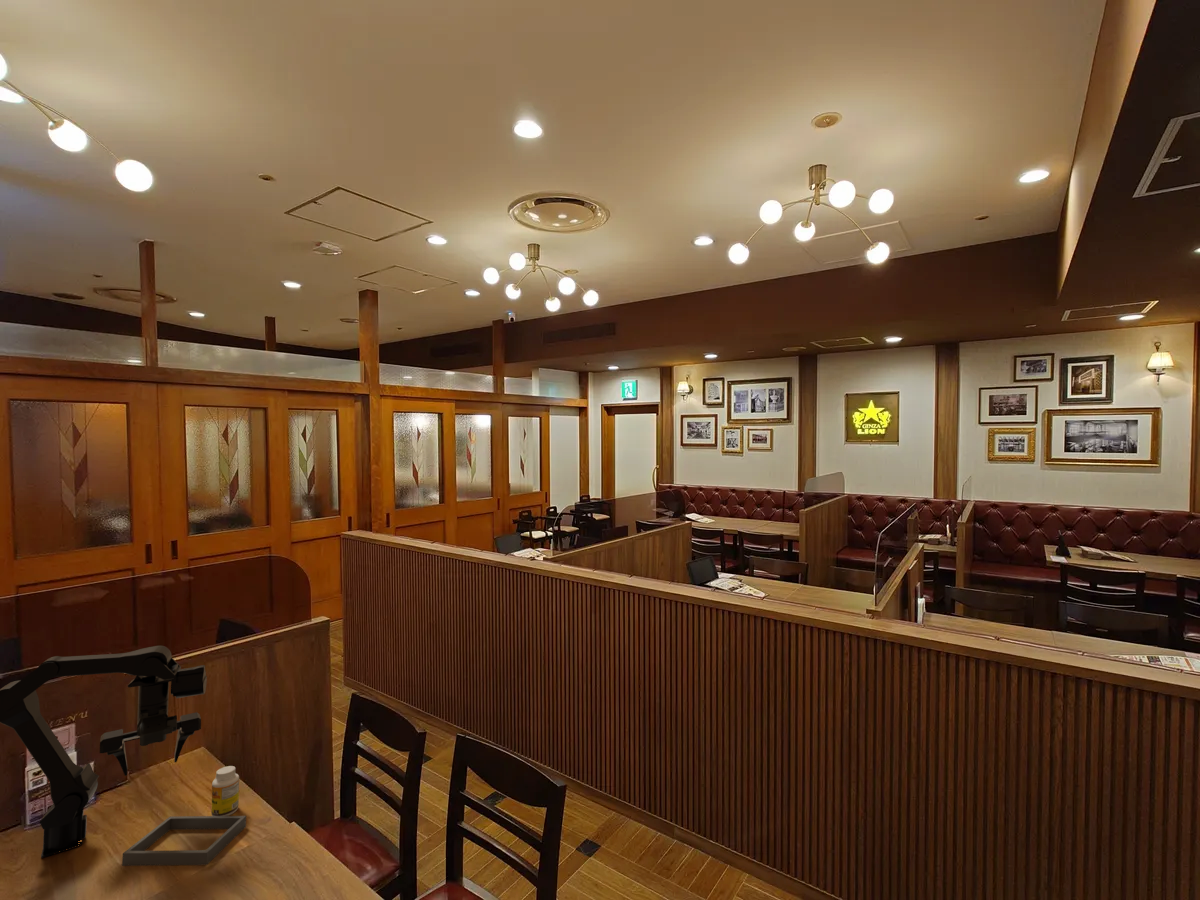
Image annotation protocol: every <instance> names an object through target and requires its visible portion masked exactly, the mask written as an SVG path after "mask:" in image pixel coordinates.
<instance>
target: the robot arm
mask: <svg viewBox="0 0 1200 900" xmlns="http://www.w3.org/2000/svg"><path fill="white" fill-rule="evenodd" d="M102 674H105V675H106V674H126V675H129V676H133V677H134V676H135V678H133V679H132V680H131V681H130V682H129V683H128V684H127V688H136V687H138V698H137V699H138V700H137V704H138V705H137V722H136V723H137V725H136V730H134V731H128V732H124V728H121V729H116V730H112V731H107V732H104V733H103V734H102V735H101V736H100V740H99V754H106V755H107V756H111V755H112V756H114V757H115V759H117V761H118V762H119V765H120V768H121V769H122V772H123V775H124V776H128V761H127V753H126V745H125V744H126V743H127V742H131V741H135V740H139V746H141V747H147V746H148V745H152V744H155V743H161V742H164V741H166V739H167V735H169V734H170V735H171V734H172V733H174V732H176V731H177V734H176V743H175V749H174V757H173V758H174V760H173V761H174V762H173V763H177V762H178V760H179V757H180V754H181V752H182V749H183V746H184V744H185V743H186V742H187V740H188V738H189V737H190V736H193V735H194V734H195V732H196V731H197V732H198V731H200V730H202V718H201V714H200V713H198V711H196V712H192V713H187V714H182V715H180V719H179V720H178V715H176V714H175V715H172V716H170V715H169V696H170V695H172V697H173V698H174V697H175V698H176V699H181V698H186V697H187V698H188V697H194V696H200V695H201V696H202V695H205V694H206V690H207V682H208V680H207V678H208V677H207V673H206V665H205V664H201V665H197V666H193V667H188V668H187V667H186V668H182V666H181V665H180V664H179V663H178V662H177V661H176V660H175V659H174V658H173V656H172V652H171V650H170V648H169V647H167V646H164V645H154V646H149V647H144V648H143V647H142V648H140V649H137V650H132V651H129V652H122V653H108V654H107V653H105V654H91V655H90V654H89V655H72V656H71V655H70V656H60V655H55V656H52V657H49V658H47V659H46V660H45V661H43V662H42V663H41V664H40V665H38V667H37V668H36V669H34V670H32V672H30V673H29V674H27V675H26V676H24V677H23V678H22V679H20V680H15V681H11V682H9V683H8V684H6V685H4V686H3V687H1V688H0V724H1V725H4V726H6V727H9V728H11V729H12V730H14V732H15V734H16V735H17V736H18V738H19V739H20V741H21V742H22V744H23V745H24V746H25V748H26V750H27V751H28V753H29V754H30V755H31V757H32V759H34V761H35V762H36V764H37V766H38V767H39V768H40V770H41V771H42V773H43V775H44V776H45V777H46V779H47V780H48V782H49V791H50V799H51V801H52V805H51V806H50V807H49V808H48V810H47V811H46V813H45V814H44V815H43V817H42V818H41V819H40V820H39V824H40V826H41V828H42V830H43V840H42V841H43V842H42V850H41V851H42V852H41V855H40V857H41V858H46V857H50V856H52V854H53V855H55V854H54V853H56V854H59V853H60V852H59V851H62V852H64V851H63V850H66V849H69V848H72V847H75V846H78V845H80V844H82V845H83V841H82V842H78V841H80V840H82V839H83V840H84V839H85V838H86V836H87V823H88V821H87V819H88V818H87V817H88V816H87V814H84V809H85V807H86V806H87V805H88V803H89V802H90V800H91V799H92V797H93V796H94V794H95V793H96V791H97V788H98V784H99V782H98V778H99V777H100V775H98V774H97V773H95V772H94V770H93V767H92V764H90V763H87V764H86V765H84V766H80V765H78V764H76V763H74V761H73V759H71V757H70V756H69V754H68V752H67V751H66V750H65V748H64V747H63V745H62V744H61V742H60V741H59V739H58V737H57V736H56V734H55V733H54V731H53V730H52V728H51V727H50V726H49V724H48V722H47V721H46V720H45V718H44V717H43V715H42V713H41V708H40V698H39V696H38V693H37V690H38V689H39V688H41V687H42V686H43V685H44V684H45V683H47V682H48V681H50V680H51V679H52V678H63V677H77V676H78V677H79V676H87V675H88V676H90V675H102ZM169 688H170V690H169ZM169 692H170V693H169ZM169 694H170V695H169ZM78 843H80V844H78ZM78 847H79V846H78ZM75 848H76V847H75ZM72 849H73V848H72ZM69 850H70V849H69ZM66 851H67V850H66ZM58 852H59V853H58Z"/></svg>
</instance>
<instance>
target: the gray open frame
mask: <svg viewBox="0 0 1200 900" xmlns="http://www.w3.org/2000/svg"><path fill="white" fill-rule="evenodd" d="M246 827H247V815H229V816H212V815H200V816H198V815H197V816H195V815H192V816H191V815H189V816H188V815H187V816H186V815H184V816H182V815H181V816H168V817H167V818H166V819H165V820H164V821H162V822H161V823H160V824H159V825H157V826H156V827H155V828H153V829H152V830H151V831H150V832H148V833H146V835H144V836H143V837H142V838H140V839H139V840H138V841H136V842H135V843H134V844H132V845H131V846H130V847H129V848H128V849H126V850H125V851H124V852H123V853H122V858H121V859H122V860H121V861H122V862H121V863H122V864H121V866H123V867H124V866H125V867H126V866H131V867H132V866H133V867H134V866H207V865H208V864H209V863H210V862H211V861H213V859H215V857H217V856H218V854H220V853H221V852H222V851H223V850H224V849H225V848H226V847H227V846H228V845H229V844H230V843H231V842H232V841H233V840H234V839H235V838H236V837H237V836H238V835H239V834H240V833H241V832H242V831H244V829H245V828H246ZM172 830H226V831H225V832H224V833H223V834H222V835H220V836H219V837H218V838H217V839H216V840H215V841H214V842H213V843H212V844H210V846H209V847H208V848H207V849H203V850H202V849H201V850H200V849H199V850H197V849H196V850H195V849H194V850H192V849H191V850H190V849H189V850H188V849H187V850H183V849H182V850H181V849H180V850H178V849H177V850H176V849H175V850H147V849H148V848H150V847H151V846H152V845H153V844H155V843H156V842H157V841H159V840H160V839H161V838H162V837H164V836H165V835H166V834H167V833H168V832H170V831H172Z"/></svg>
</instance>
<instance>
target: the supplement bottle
mask: <svg viewBox="0 0 1200 900" xmlns="http://www.w3.org/2000/svg"><path fill="white" fill-rule="evenodd" d="M215 773H216V774H215V778H214V779H213V781H212V783H211V809H210V810H211V816H232V815H233V814H234V813H235V812H236V811H237V810H238V809H239V804H240V802H239V799H240V798H239V797H240V775H239V774H238V773H236V767H235V766H233V765H228V766H223V767H220V768H219V769H218V770H216V772H215Z"/></svg>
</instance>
